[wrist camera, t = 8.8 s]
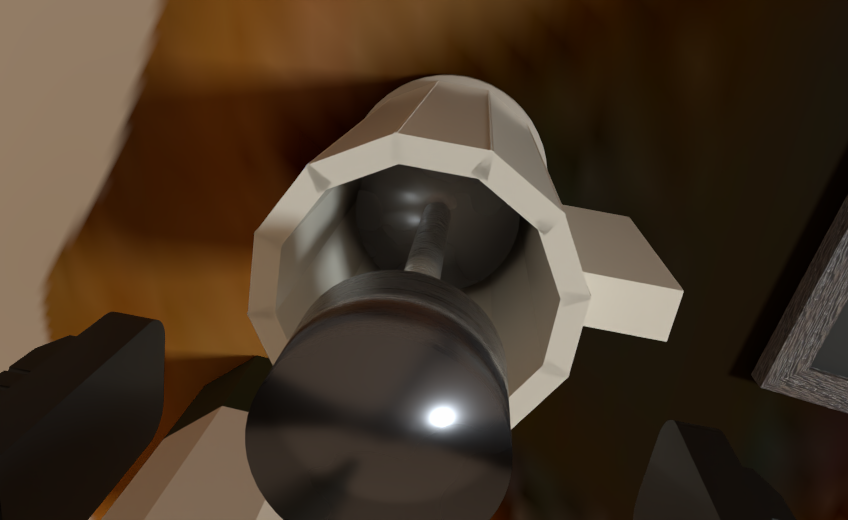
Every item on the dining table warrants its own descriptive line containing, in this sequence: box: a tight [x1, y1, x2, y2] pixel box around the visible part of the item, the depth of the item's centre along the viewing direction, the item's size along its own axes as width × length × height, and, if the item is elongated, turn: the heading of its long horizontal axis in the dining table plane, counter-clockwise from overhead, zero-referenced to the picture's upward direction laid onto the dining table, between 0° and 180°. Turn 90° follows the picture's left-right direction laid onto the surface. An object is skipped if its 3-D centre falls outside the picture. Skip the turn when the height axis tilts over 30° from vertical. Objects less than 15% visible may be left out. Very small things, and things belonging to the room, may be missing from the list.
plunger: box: [245, 164, 520, 520], centre depth 15 cm, size 5×5×13 cm
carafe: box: [247, 74, 684, 429], centre depth 20 cm, size 10×8×13 cm
